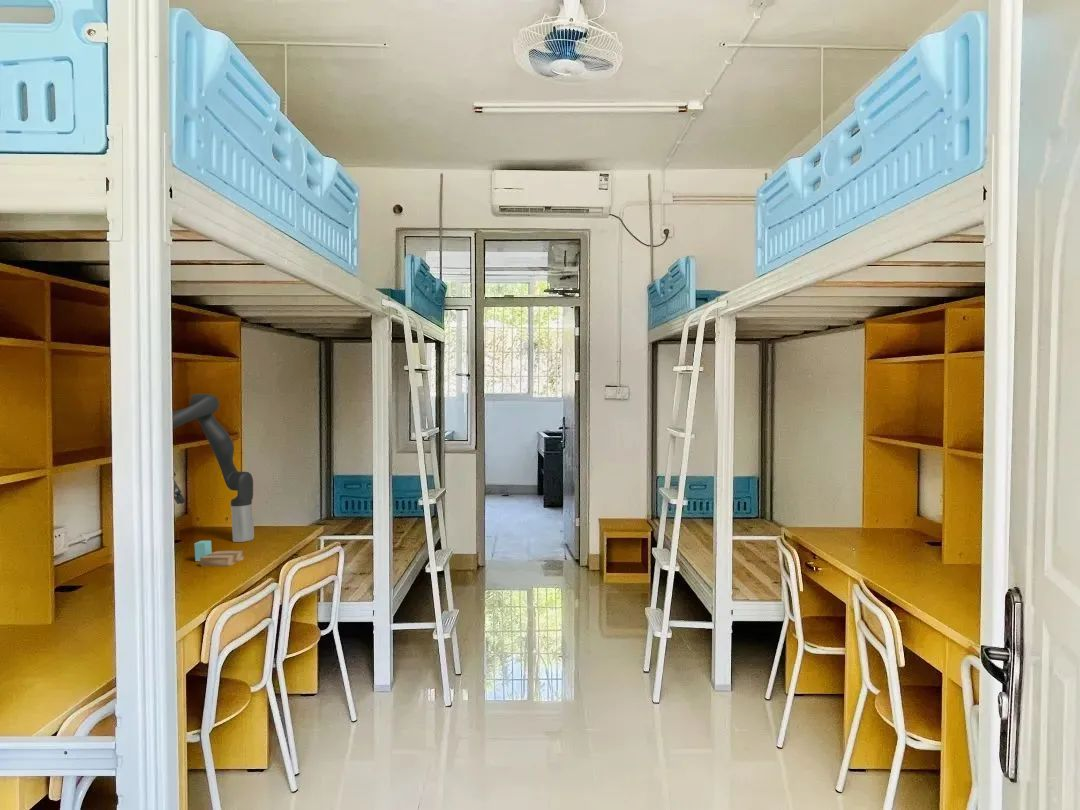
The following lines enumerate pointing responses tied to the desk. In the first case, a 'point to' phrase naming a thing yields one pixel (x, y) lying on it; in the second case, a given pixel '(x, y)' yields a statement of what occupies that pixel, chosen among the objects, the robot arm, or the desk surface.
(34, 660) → the desk surface
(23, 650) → the desk surface
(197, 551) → the teal block
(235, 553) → the brown notched block
